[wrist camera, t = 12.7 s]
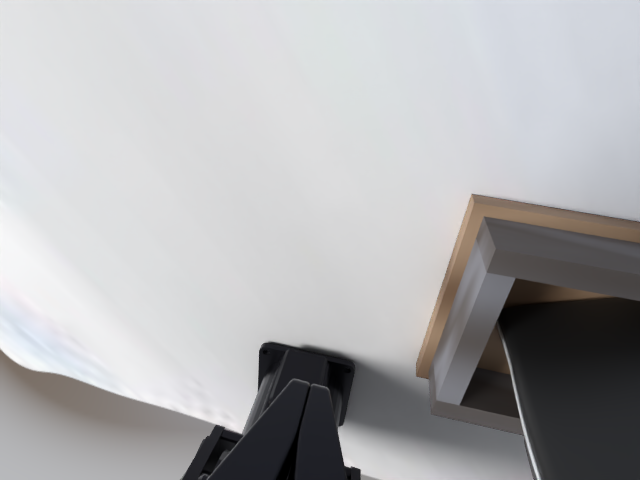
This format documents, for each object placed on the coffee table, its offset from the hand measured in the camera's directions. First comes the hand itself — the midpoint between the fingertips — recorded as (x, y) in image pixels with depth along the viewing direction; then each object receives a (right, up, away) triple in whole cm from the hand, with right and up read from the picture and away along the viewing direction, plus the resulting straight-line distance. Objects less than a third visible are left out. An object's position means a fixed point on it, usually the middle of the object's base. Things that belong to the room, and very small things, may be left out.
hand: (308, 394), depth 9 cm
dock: (+13, 0, +13) cm, 18 cm away
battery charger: (+13, -1, +12) cm, 18 cm away
